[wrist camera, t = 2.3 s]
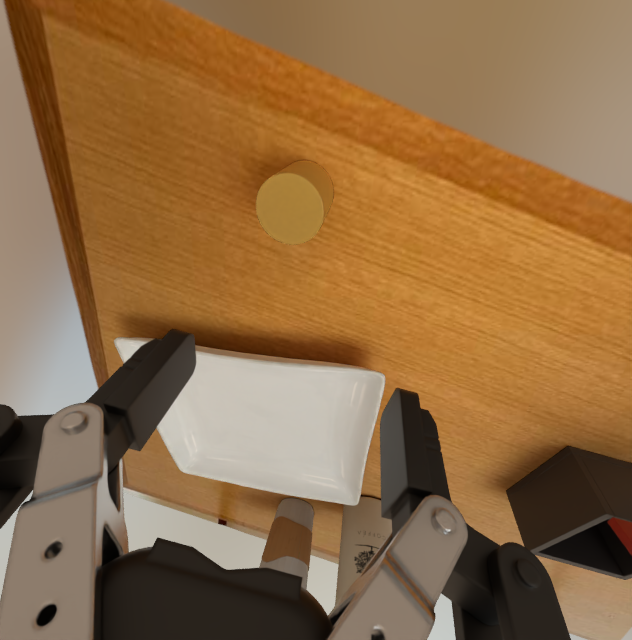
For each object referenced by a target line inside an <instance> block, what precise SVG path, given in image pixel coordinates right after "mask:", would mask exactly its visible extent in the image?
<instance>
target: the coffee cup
mask: <svg viewBox="0 0 632 640" xmlns="http://www.w3.org/2000/svg"><path fill="white" fill-rule="evenodd" d="M313 517H314V512H313V508H312V506H311V505H310V504H309V503H307V502H305V501H303V500H300V499H295V498H286V499H283V500H282V501H281V503H280V504H279V506H278V509H277V512H276V515H275V518H274V521H273V524H272V527H271V530H270V533H269V536H268V539H267V543H266V546H265V549H264V552H263V555H262V561H261V564H260V567H259V568H265V567H267V568H271V569H275V570H278V571H282V572H286V573H289V574H293V575H297V576H300V577H303V578H302V584H301V587H303V588H304V589H305V590H306V587H307V577H308V571H309V562H310V553H311V542H312V527H313Z"/></svg>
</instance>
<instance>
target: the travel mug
mask: <svg viewBox="0 0 632 640" xmlns="http://www.w3.org/2000/svg"><path fill="white" fill-rule="evenodd" d="M391 532H392V520H390V519H386V518H383V517H381V500H379V499H375V498H372V497H363V496H362V497H360V499H359V502H358V504H357V505H345V504H344V508H343V519H342V531H341V543H340V555H339V567H338V578H337V590H336V602H335V606H336V605H337V603H338V602H339V600H340V599H341V598H342V597H343V595H344V594H345V593H346V591H347V590H348V589H349V588H350V587H351V585H352V584H353V583H354V582H355V581H356V579H357V578H358V577H359V575H360V574H361V573H362V571H363V570H364V568H365V567H366V566H367V564H368V563H369V562H370V560H371V559H372V558H373V556H374V555H375V553H376V552H377V551H378V549H379V548H380V547H381V545H382V544H383V543H384V541H385V540H386V538H387V537H388V536H389V534H390V533H391Z"/></svg>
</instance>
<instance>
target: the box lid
mask: <svg viewBox="0 0 632 640" xmlns="http://www.w3.org/2000/svg"><path fill="white" fill-rule="evenodd" d="M608 524H609V525H610V526H611V528H612V529H613V531H614V532H615V533H616V535H617V536H618V538H619V539H620V540H621V542H622V543H623V544H624V546H625V547H626V549H627V550H628V551H629V553H630V554H631V556H632V522H629V521H625V520H621V519H618V518H614V517H612V518H611V519H610V520H609V521H608Z"/></svg>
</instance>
